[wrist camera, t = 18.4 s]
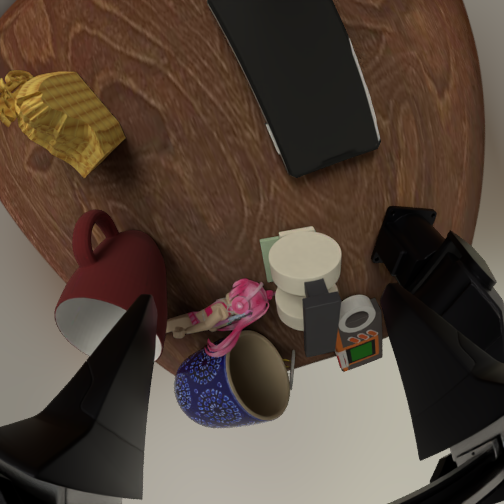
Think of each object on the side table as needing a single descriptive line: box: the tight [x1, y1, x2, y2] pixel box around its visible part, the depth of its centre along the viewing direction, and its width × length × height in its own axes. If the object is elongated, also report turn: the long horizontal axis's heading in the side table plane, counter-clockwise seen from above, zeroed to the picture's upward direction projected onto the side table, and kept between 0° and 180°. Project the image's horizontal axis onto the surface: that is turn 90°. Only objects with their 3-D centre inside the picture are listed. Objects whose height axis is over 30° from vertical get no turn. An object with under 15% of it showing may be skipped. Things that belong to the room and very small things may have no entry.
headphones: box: [269, 226, 341, 357], centre depth 22 cm, size 6×6×9 cm
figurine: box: [0, 70, 126, 178], centre depth 12 cm, size 4×12×7 cm, turn 33°
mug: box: [55, 210, 168, 362], centre depth 19 cm, size 10×8×10 cm
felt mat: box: [260, 230, 316, 282], centre depth 25 cm, size 5×5×1 cm
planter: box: [174, 330, 290, 428], centre depth 30 cm, size 11×11×11 cm
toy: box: [166, 278, 276, 357], centre depth 27 cm, size 7×6×15 cm
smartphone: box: [207, 0, 381, 178], centre depth 15 cm, size 8×1×15 cm
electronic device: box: [335, 295, 382, 372], centre depth 33 cm, size 7×3×15 cm
